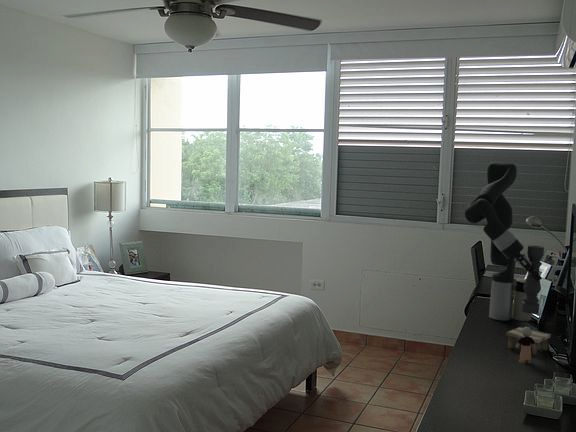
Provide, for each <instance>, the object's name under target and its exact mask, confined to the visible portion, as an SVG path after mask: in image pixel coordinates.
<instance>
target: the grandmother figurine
mask: <svg viewBox="0 0 576 432" xmlns="http://www.w3.org/2000/svg"><path fill="white" fill-rule="evenodd" d="M522 328H523V329H522V333H523V335H524V336H525V337H523V338H520V339H519V338H518V339H519V340H518V341H517V343H516V345H515V348H517V349H518V348H519V347H520V353H519V359H518V362H519V363H520V364H526V363H527V364H532V346H531V345H533V348H536V345H535V342H534V340H533V339H532V338H531V337H529V336H530V334H532V331H531V330H532V329H531V327H529V326H525V327H522ZM520 345H521V346H520Z"/></svg>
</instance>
